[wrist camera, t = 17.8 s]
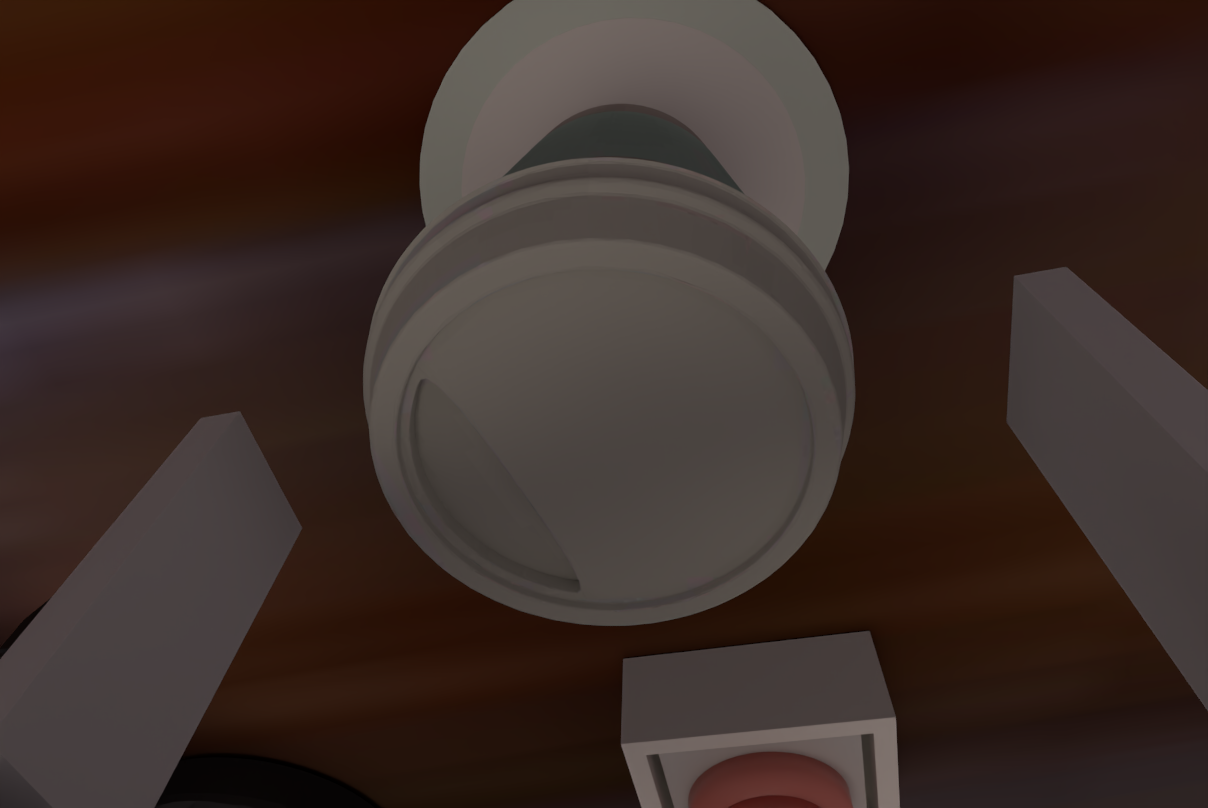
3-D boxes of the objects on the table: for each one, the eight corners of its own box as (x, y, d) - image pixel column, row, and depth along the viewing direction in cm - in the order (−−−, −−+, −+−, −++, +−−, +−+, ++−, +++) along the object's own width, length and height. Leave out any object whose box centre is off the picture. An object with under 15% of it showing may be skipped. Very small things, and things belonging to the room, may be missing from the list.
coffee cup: (468, 31, 21) (300, 168, 11) (803, 63, 21) (956, 230, 11) (471, 331, 25) (355, 627, 15) (745, 356, 25) (813, 668, 15)
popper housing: (879, 779, 38) (902, 867, 34) (664, 798, 39) (666, 884, 36) (869, 630, 32) (895, 717, 29) (623, 658, 34) (620, 744, 31)
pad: (671, 438, 28) (671, 449, 27) (353, 244, 25) (347, 251, 24) (937, 148, 22) (944, 154, 22) (573, -154, 19) (571, -155, 18)
